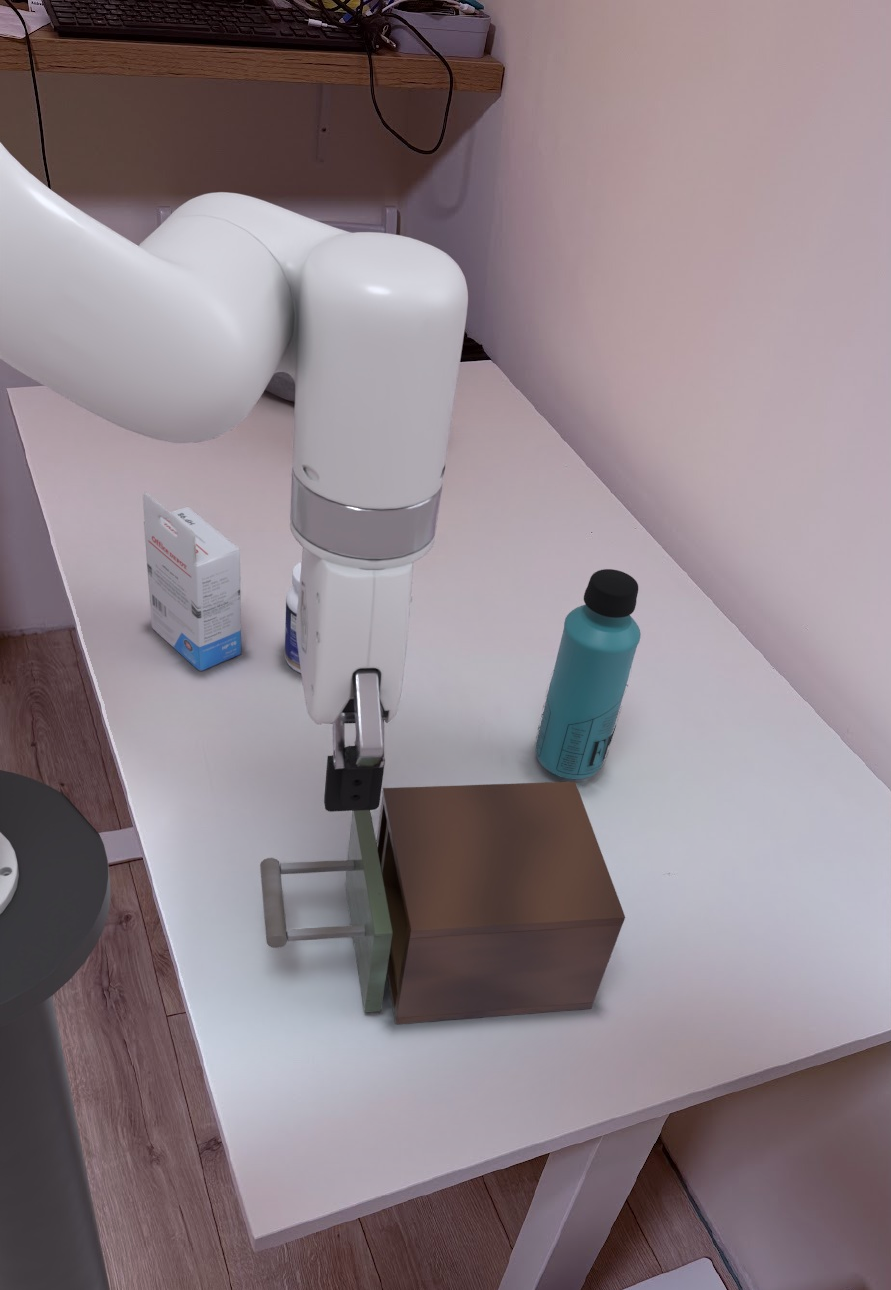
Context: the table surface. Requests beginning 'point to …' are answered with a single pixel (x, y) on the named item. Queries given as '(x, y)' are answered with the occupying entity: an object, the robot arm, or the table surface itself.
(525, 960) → the cabinet
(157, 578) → the ink box
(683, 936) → the table surface
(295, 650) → the pill bottle
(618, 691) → the beverage bottle
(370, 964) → the drawer
